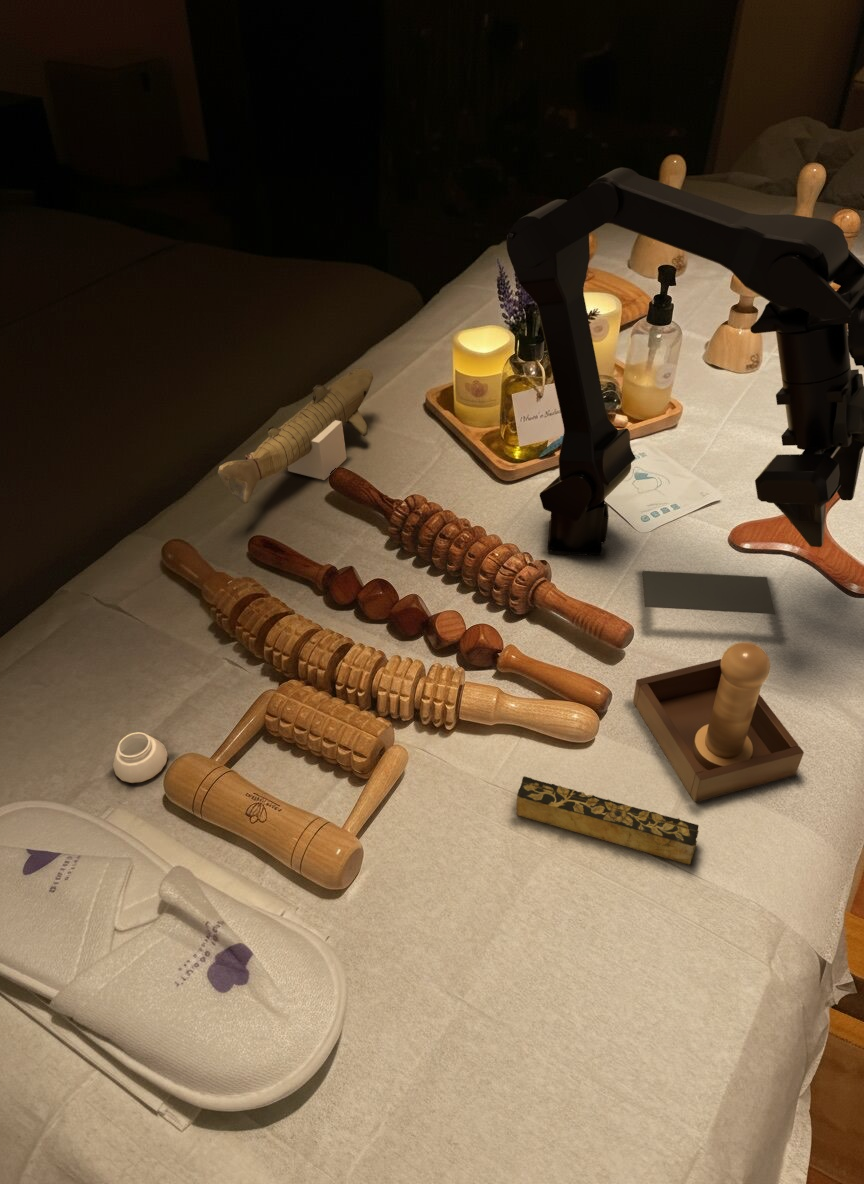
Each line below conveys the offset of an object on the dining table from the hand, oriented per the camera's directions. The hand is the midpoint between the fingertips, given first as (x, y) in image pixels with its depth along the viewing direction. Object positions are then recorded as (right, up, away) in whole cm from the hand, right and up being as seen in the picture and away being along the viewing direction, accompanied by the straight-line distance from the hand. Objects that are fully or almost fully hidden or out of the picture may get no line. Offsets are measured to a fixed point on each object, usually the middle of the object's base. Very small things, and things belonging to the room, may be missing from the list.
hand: (832, 522), depth 86 cm
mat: (-8, -8, +12) cm, 17 cm away
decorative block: (-24, -28, -9) cm, 38 cm away
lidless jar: (-68, -24, -1) cm, 72 cm away
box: (-13, -21, -2) cm, 25 cm away
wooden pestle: (-12, -22, -4) cm, 25 cm away
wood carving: (-57, +10, +37) cm, 68 cm away
